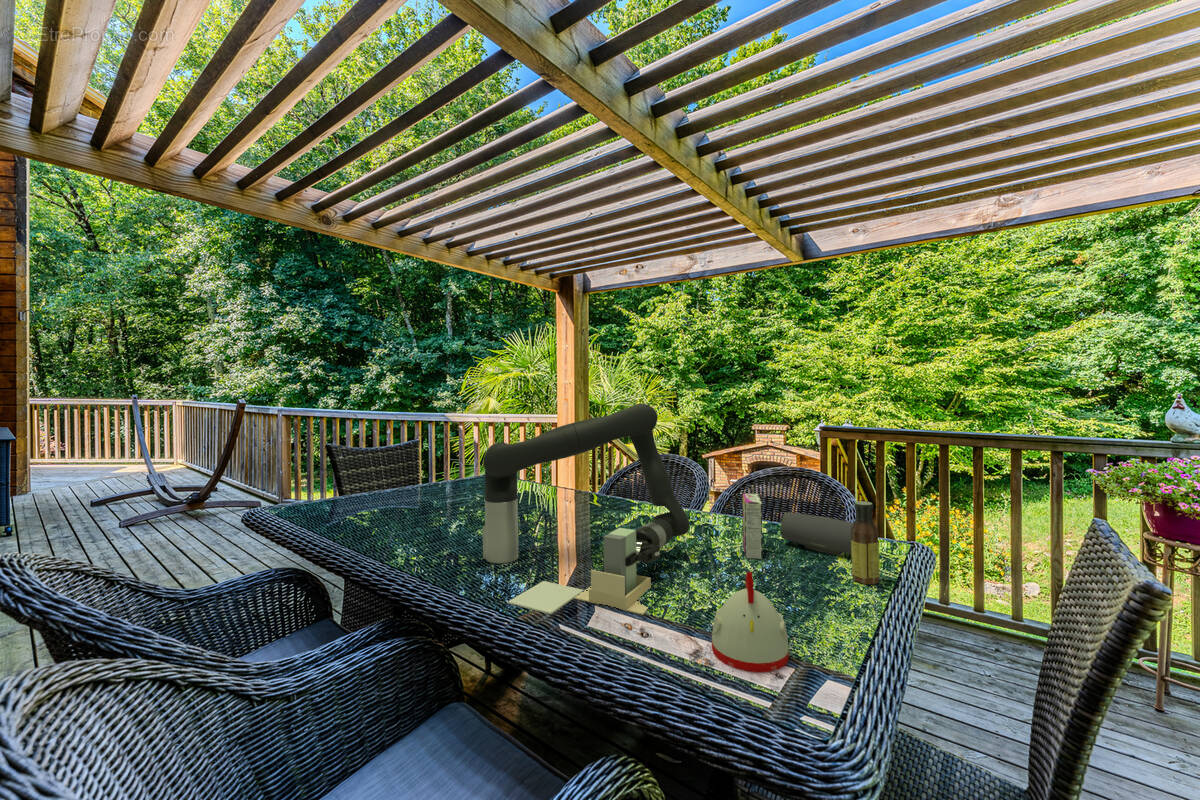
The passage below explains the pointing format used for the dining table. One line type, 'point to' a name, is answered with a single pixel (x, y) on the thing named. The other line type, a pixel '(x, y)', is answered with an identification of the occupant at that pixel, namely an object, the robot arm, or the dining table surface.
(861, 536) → the sauce bottle
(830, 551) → the bluetooth speaker
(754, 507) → the candy bar box
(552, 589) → the mat
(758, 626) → the kitchen timer
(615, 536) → the slim sage box
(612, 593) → the tan open holder
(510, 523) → the robot arm
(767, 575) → the dining table surface
